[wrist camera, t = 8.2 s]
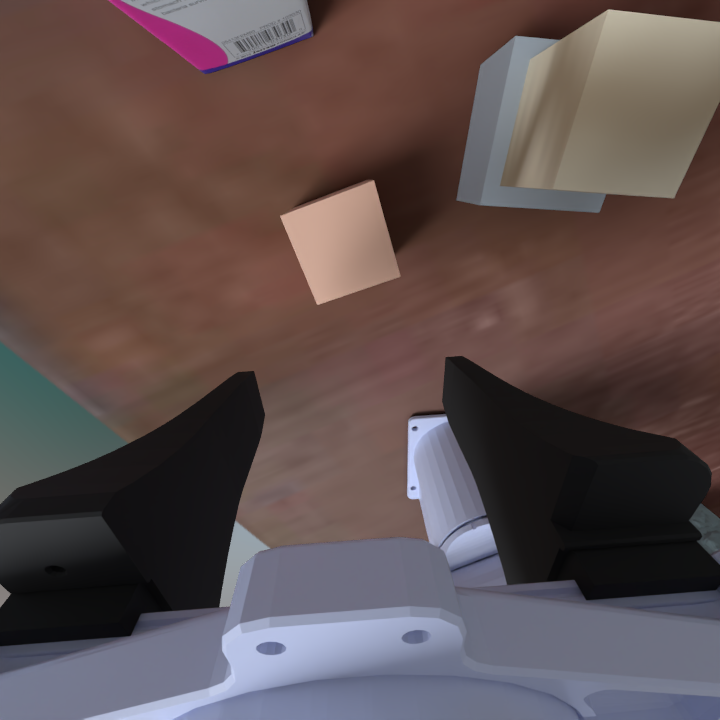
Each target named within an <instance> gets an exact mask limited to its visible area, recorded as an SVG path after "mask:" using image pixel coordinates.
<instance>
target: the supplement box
mask: <svg viewBox="0 0 720 720" xmlns="http://www.w3.org/2000/svg"><path fill="white" fill-rule="evenodd" d="M109 1H110V2H111V3H112V4H114V5H115V6H116V7H117V8H119V9H120V10H121V11H123V12H124V13H125V14H127V15H128V16H129V17H131V18H132V19H133V20H135V21H136V22H137V23H138V24H140V25H141V26H142V27H144V28H145V29H146V30H148V31H149V32H150V33H152V34H153V35H154V36H156V37H157V38H158V39H160V40H161V41H162V42H164V43H165V44H166V45H168V46H169V47H170V48H172V49H173V50H174V51H176V52H177V53H178V54H179V55H181V56H182V57H183V58H185V59H186V60H187V61H188V62H190V63H191V64H192V65H194V66H195V67H196V68H197V69H199V70H200V71H201V72H203V73H204V74H207V73H212V72H215V71H218V70H221V69H224V68H227V67H230V66H233V65H236V64H239V63H242V62H245V61H247V60H250V59H253V58H256V57H258V56H261V55H264V54H267V53H270V52H272V51H275V50H278V49H280V48H283V47H286V46H288V45H291V44H294V43H296V42H299V41H301V40H304V39H307V38H310V37H312V36H313V27H312V22H311V17H310V12H309V8H308V3H307V0H109Z"/></svg>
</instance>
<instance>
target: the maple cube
mask: <svg viewBox="0 0 720 720" xmlns="http://www.w3.org/2000/svg"><path fill="white" fill-rule="evenodd" d="M719 102H720V22H713V21H705V20H696V19H687V18H679V17H670V16H661V15H653V14H644V13H635V12H627V11H618V10H609V9H608V10H607V11H605V12H604V13H602V14H600V15H599V16H597V17H596V18H594V19H593V20H591V21H589V22H588V23H586V24H585V25H583V26H582V27H580V28H579V29H577V30H575V31H574V32H572V33H571V34H569V35H568V36H566V37H564V38H563V39H561V40H560V41H558V42H557V43H555V44H553V45H552V46H550V47H549V48H547V49H546V50H544V51H542V52H541V53H539V54H538V55H536V56H535V57H533V58H531V59H530V62H529V66H528V70H527V74H526V78H525V83H524V87H523V91H522V95H521V99H520V103H519V108H518V112H517V116H516V120H515V124H514V129H513V133H512V137H511V141H510V145H509V149H508V154H507V158H506V162H505V166H504V170H503V174H502V179H501V183H500V186H505V187H519V188H532V189H545V190H558V191H571V192H585V193H599V194H615V195H630V196H646V197H662V198H674V197H675V195H676V193H677V191H678V189H679V186H680V184H681V182H682V180H683V178H684V176H685V174H686V172H687V170H688V167H689V165H690V163H691V161H692V159H693V157H694V155H695V153H696V150H697V148H698V146H699V144H700V142H701V140H702V138H703V136H704V134H705V131H706V129H707V127H708V125H709V123H710V121H711V119H712V117H713V114H714V112H715V110H716V108H717V106H718V104H719Z"/></svg>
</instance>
